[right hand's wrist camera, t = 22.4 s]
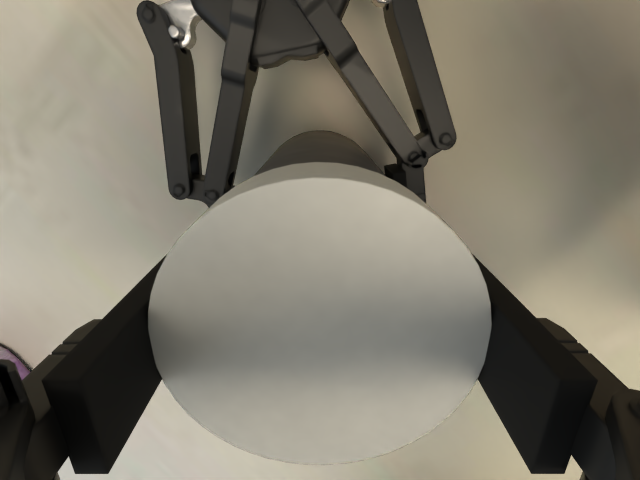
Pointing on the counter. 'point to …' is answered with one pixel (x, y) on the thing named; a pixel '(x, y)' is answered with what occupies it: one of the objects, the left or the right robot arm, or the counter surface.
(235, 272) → the lid
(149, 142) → the counter surface
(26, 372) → the figurine
